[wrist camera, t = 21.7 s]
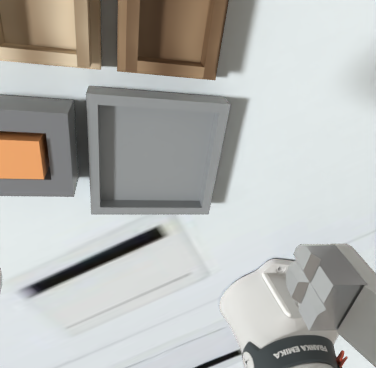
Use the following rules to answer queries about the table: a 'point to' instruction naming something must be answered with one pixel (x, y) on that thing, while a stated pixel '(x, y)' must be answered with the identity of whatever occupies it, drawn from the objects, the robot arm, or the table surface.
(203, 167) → the tray
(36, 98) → the button console
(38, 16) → the tray
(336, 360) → the robot arm
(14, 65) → the table surface
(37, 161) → the button
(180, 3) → the pallet
